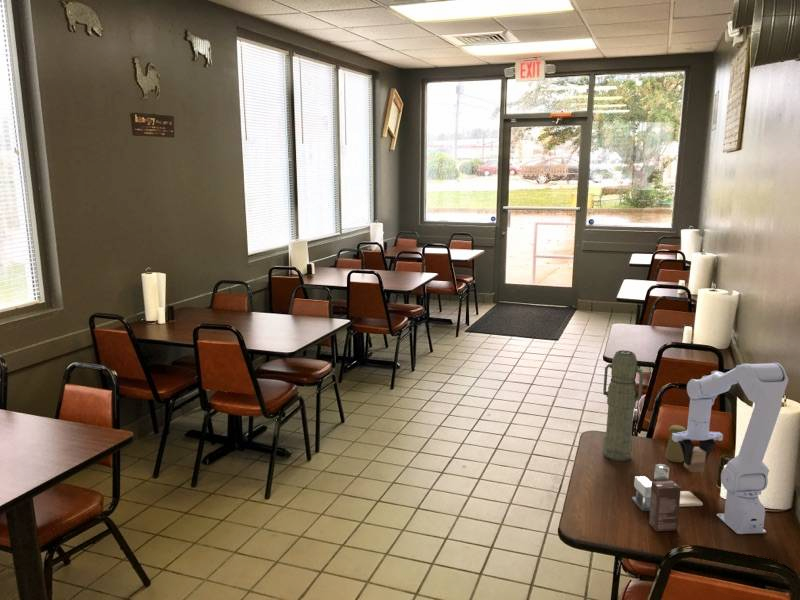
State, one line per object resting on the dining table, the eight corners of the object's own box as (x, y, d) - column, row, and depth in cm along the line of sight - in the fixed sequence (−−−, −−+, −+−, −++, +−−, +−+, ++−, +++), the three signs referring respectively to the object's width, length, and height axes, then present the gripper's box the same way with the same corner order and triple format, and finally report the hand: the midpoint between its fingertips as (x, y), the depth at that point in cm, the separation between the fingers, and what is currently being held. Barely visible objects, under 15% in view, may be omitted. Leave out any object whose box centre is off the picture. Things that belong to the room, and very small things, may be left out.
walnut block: (704, 471, 187) (706, 452, 186) (691, 471, 186) (693, 452, 185) (696, 465, 191) (698, 446, 190) (683, 466, 190) (685, 447, 189)
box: (668, 522, 169) (673, 479, 167) (677, 531, 165) (682, 487, 162) (647, 522, 168) (651, 480, 166) (655, 532, 164) (659, 488, 162)
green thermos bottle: (635, 463, 204) (645, 357, 198) (597, 457, 208) (605, 353, 202) (636, 453, 212) (645, 351, 206) (599, 447, 216) (607, 347, 210)
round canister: (670, 482, 192) (672, 469, 191) (658, 482, 192) (659, 469, 191) (664, 476, 196) (665, 463, 195) (651, 476, 196) (652, 464, 195)
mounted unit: (655, 510, 175) (657, 486, 174) (642, 511, 175) (644, 487, 173) (644, 499, 181) (646, 476, 180) (631, 499, 181) (633, 476, 180)
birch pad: (702, 505, 178) (702, 503, 178) (678, 506, 177) (678, 503, 177) (689, 493, 185) (689, 491, 185) (665, 494, 184) (666, 491, 184)
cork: (660, 456, 210) (663, 424, 208) (674, 453, 213) (677, 421, 211) (675, 463, 205) (678, 431, 203) (689, 460, 207) (692, 428, 205)
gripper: (714, 414, 190) (710, 456, 193) (668, 415, 189) (664, 458, 191) (729, 422, 183) (724, 467, 186) (680, 423, 182) (676, 468, 185)
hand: (694, 463), depth 188 cm, fingers closed on walnut block, 4 cm apart
